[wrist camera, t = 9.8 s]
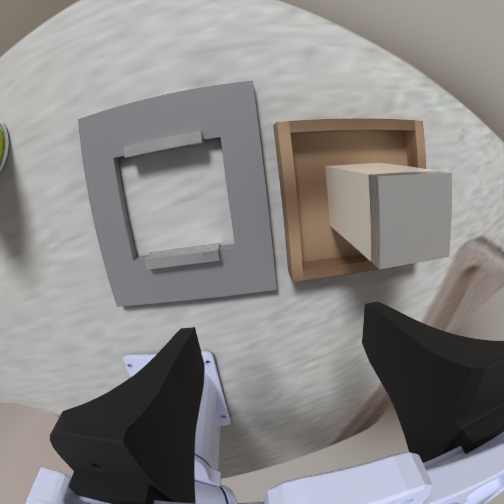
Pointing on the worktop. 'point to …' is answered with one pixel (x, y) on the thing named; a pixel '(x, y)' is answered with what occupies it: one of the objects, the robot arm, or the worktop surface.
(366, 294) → the worktop surface
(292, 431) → the worktop surface
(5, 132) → the supplement bottle
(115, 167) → the frame
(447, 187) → the block
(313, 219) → the tray
